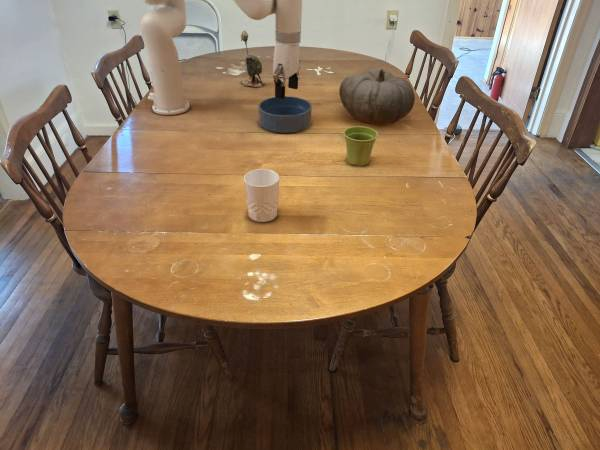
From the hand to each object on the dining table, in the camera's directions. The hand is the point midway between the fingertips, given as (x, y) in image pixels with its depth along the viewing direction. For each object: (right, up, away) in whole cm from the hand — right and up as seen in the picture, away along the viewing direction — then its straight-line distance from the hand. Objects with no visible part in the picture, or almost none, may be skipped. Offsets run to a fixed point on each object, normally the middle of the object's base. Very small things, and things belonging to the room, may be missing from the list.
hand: (286, 93), depth 146 cm
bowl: (-1, -8, +5) cm, 10 cm away
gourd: (+30, -5, +11) cm, 32 cm away
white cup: (-4, -40, -38) cm, 55 cm away
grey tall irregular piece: (-14, +13, +35) cm, 40 cm away
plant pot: (+21, -24, -16) cm, 35 cm away
